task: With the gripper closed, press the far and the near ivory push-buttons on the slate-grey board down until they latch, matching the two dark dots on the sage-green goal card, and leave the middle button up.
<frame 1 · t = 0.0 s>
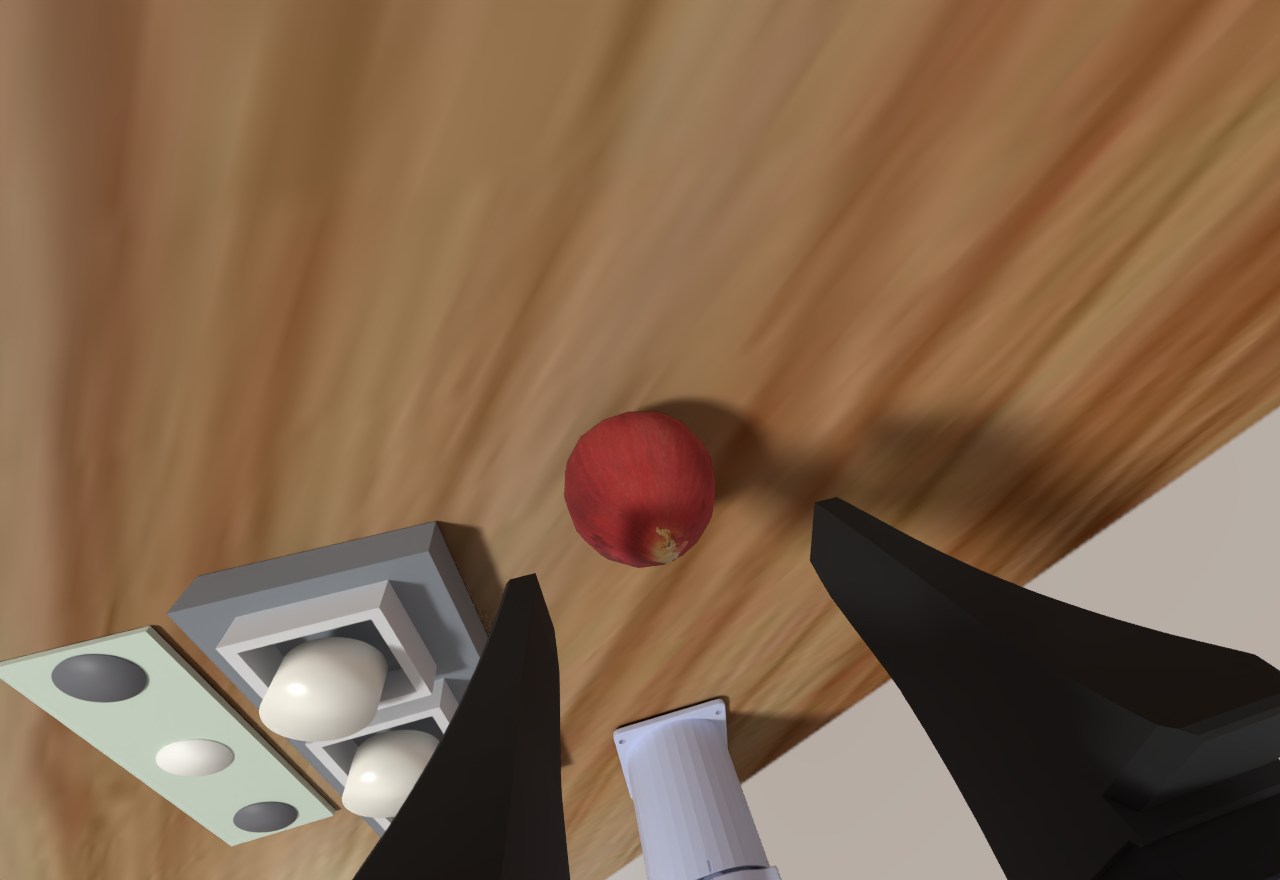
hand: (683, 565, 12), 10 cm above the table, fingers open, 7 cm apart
button middle: (395, 773, 23), point 4 cm above the table, slide at 0.0 cm
onion: (621, 438, 22), on the table
button board: (412, 692, 26), on the table
goal card: (199, 751, 25), on the table
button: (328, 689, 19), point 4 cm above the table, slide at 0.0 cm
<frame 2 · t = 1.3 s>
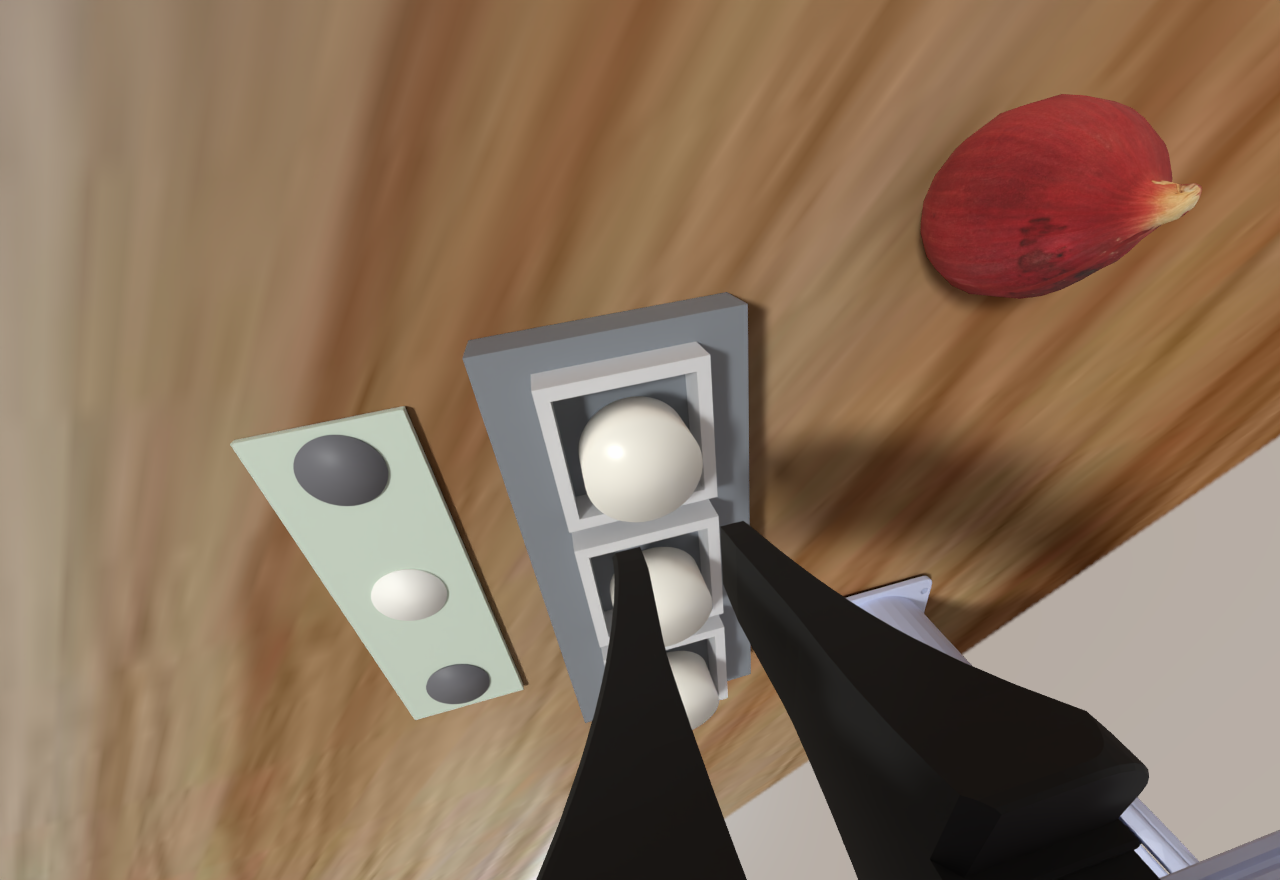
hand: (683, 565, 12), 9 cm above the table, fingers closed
button middle: (659, 597, 20), point 4 cm above the table, slide at 0.0 cm
onion: (936, 200, 19), on the table
button board: (638, 533, 23), on the table
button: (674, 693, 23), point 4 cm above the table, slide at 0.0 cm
goal card: (411, 589, 22), on the table
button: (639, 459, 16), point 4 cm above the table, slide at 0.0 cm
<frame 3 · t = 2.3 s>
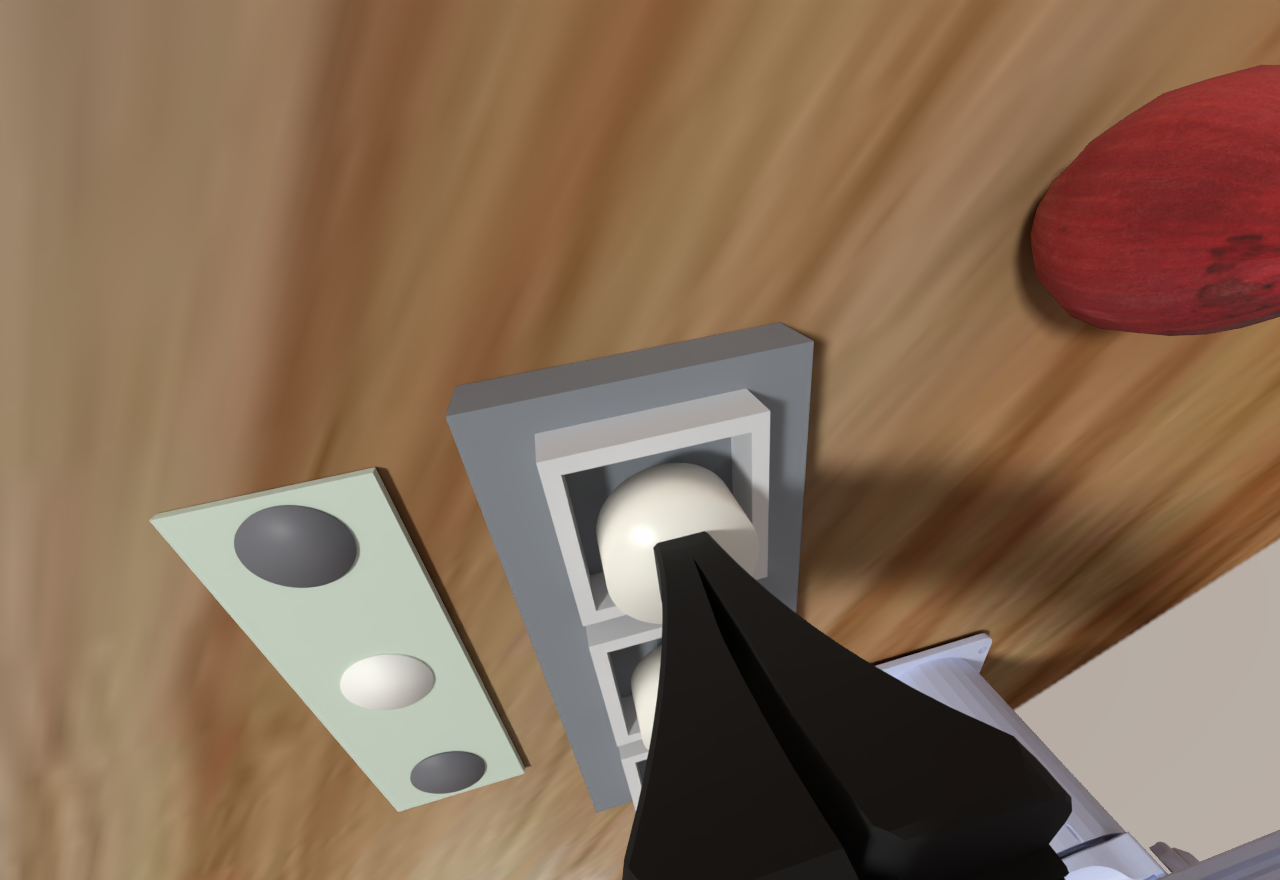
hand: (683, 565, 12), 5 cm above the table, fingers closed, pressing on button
button middle: (693, 696, 16), point 4 cm above the table, slide at 0.0 cm
onion: (1040, 207, 15), on the table
button board: (661, 601, 20), on the table
goal card: (390, 674, 18), on the table
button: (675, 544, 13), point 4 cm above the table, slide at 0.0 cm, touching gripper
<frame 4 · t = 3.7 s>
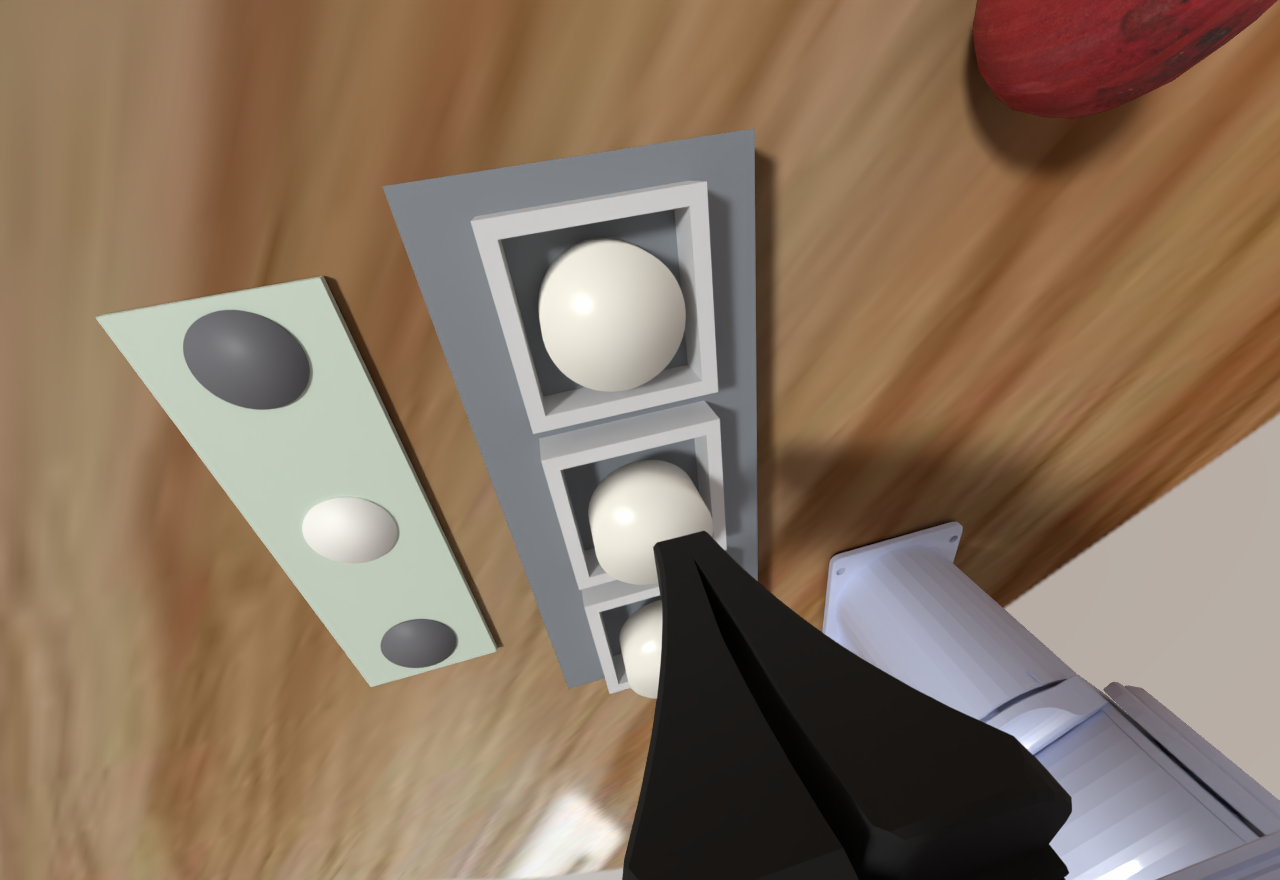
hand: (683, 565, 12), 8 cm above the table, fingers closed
button middle: (649, 522, 16), point 4 cm above the table, slide at 0.0 cm
onion: (987, 18, 15), on the table
button board: (625, 460, 20), on the table
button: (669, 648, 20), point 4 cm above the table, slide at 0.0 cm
goal card: (353, 525, 18), on the table
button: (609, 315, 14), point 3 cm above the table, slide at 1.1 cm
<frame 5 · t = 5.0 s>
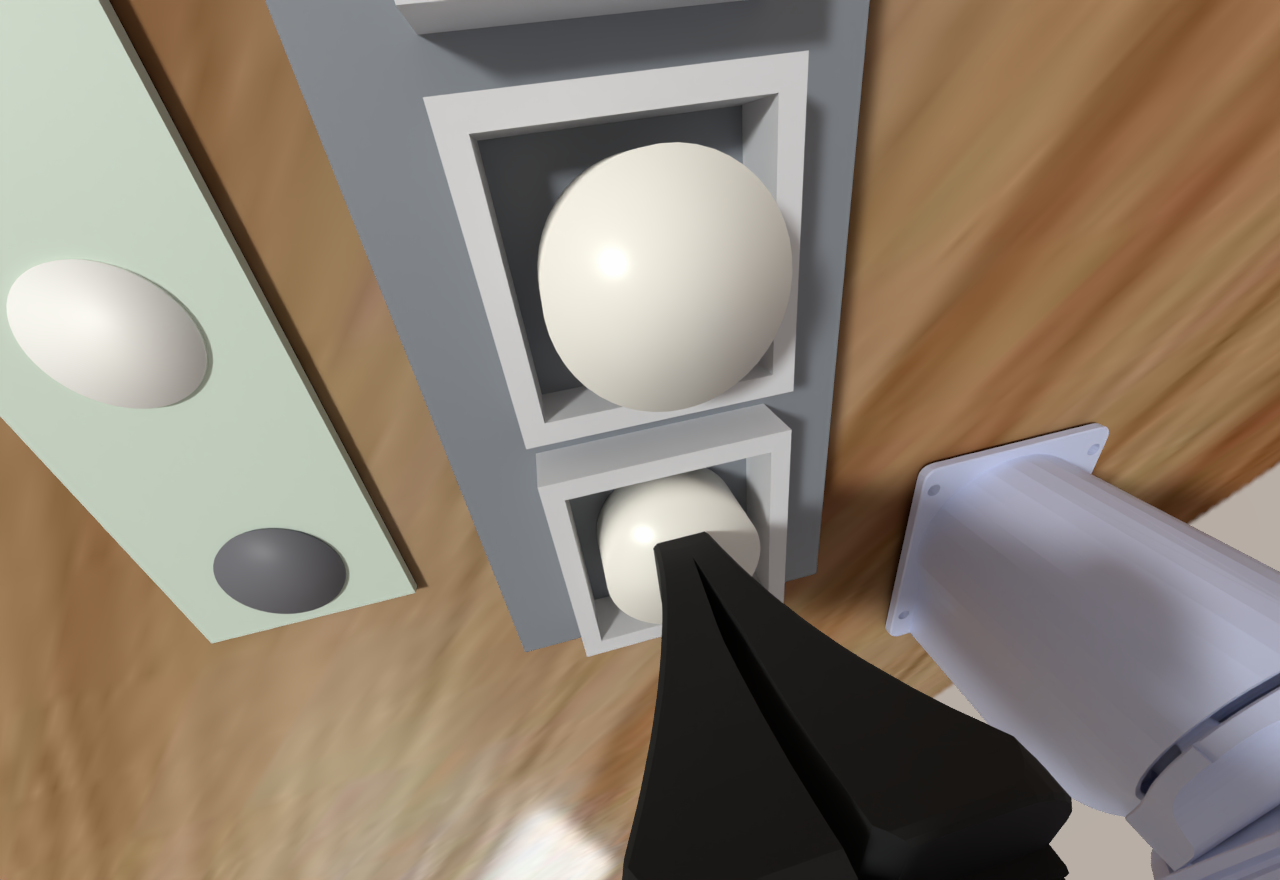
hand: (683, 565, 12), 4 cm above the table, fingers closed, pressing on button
button middle: (658, 283, 8), point 4 cm above the table, slide at 0.0 cm
button board: (616, 251, 12), on the table
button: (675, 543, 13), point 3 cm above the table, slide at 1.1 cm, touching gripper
goal card: (125, 334, 10), on the table
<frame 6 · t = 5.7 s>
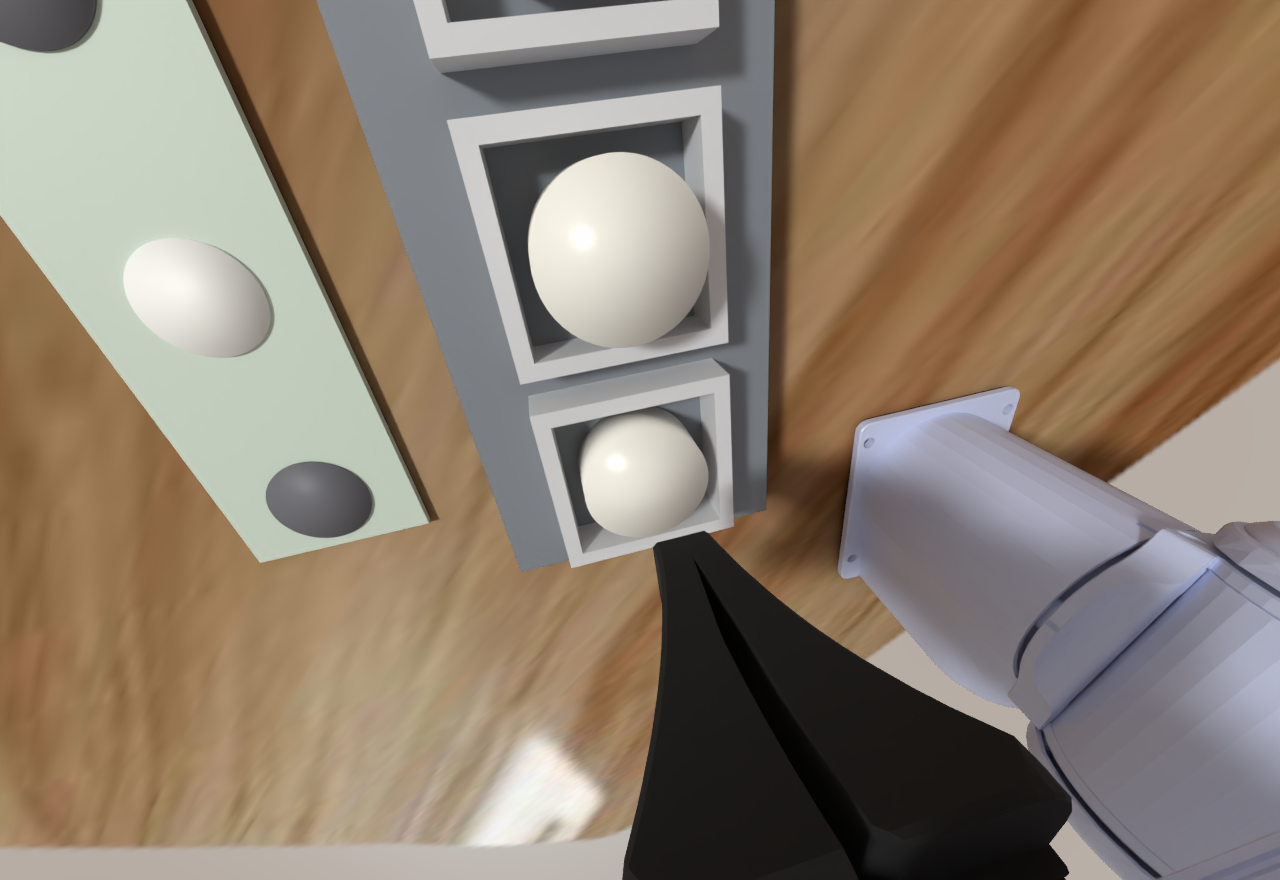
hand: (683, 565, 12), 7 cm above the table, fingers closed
button middle: (615, 253, 11), point 4 cm above the table, slide at 0.0 cm
button board: (591, 234, 15), on the table
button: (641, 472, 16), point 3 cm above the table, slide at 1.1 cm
goal card: (207, 298, 13), on the table
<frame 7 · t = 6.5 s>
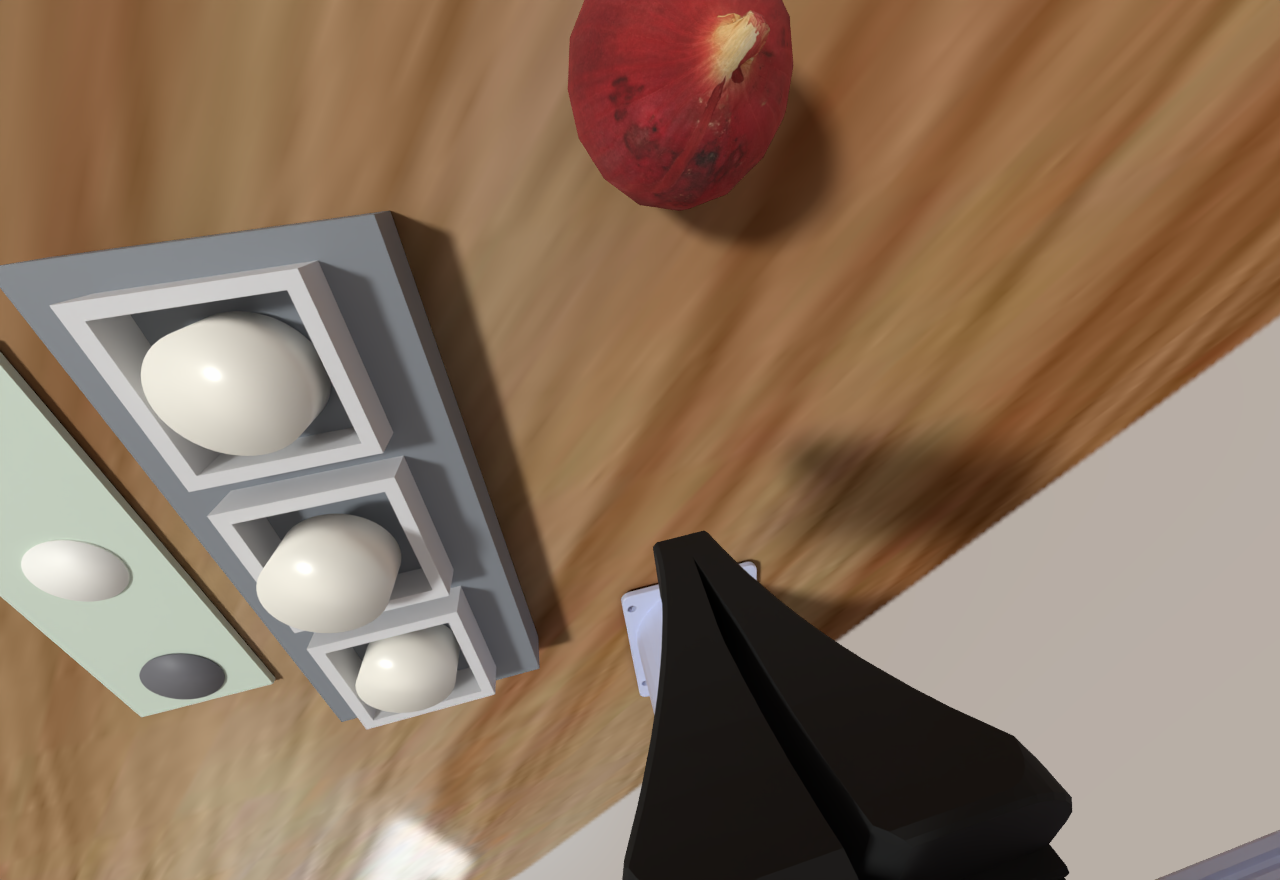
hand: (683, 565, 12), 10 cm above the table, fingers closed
button middle: (334, 573, 17), point 4 cm above the table, slide at 0.0 cm
onion: (644, 107, 16), on the table
button board: (367, 504, 20), on the table
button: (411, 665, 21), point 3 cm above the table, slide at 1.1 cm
goal card: (84, 565, 19), on the table
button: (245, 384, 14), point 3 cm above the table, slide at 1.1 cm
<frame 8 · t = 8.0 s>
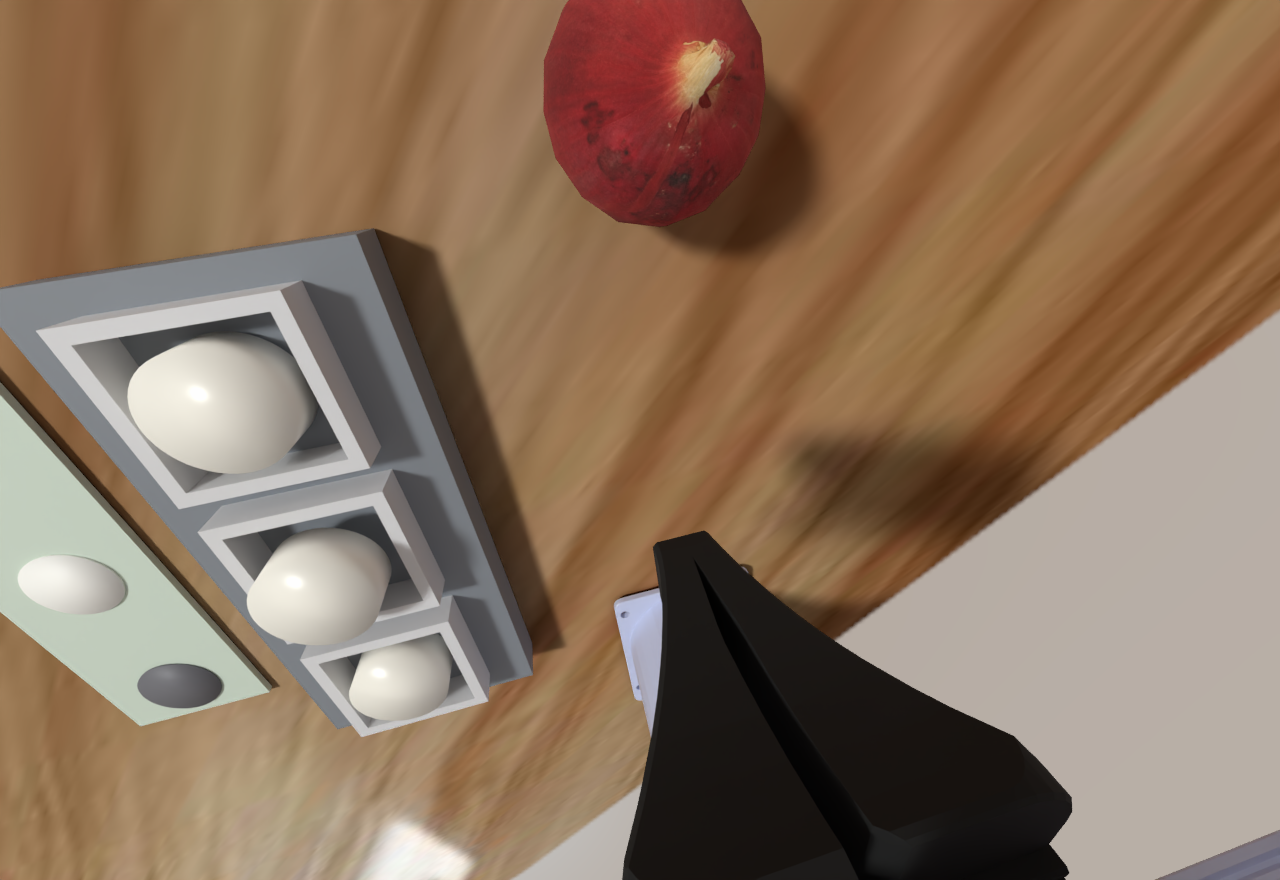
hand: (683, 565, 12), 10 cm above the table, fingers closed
button middle: (325, 586, 17), point 4 cm above the table, slide at 0.0 cm
onion: (625, 122, 16), on the table
button board: (359, 516, 21), on the table
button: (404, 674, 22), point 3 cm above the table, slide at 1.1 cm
goal card: (80, 579, 19), on the table
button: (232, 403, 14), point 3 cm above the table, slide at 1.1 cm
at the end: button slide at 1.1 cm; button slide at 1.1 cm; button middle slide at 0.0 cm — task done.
